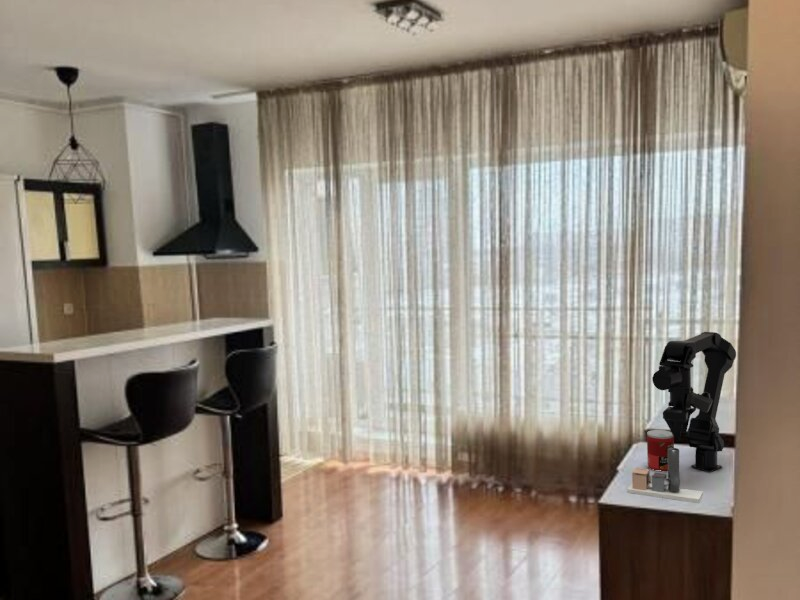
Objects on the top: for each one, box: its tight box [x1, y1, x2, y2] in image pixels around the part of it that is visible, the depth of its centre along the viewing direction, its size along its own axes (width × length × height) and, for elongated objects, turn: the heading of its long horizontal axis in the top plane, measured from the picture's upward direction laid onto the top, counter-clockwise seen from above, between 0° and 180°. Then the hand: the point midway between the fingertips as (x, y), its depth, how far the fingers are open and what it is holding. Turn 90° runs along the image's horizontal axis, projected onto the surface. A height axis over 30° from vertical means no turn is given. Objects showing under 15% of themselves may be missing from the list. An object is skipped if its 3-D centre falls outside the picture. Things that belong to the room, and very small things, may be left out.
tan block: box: [631, 467, 651, 490], centre depth 200 cm, size 4×4×5 cm
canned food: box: [646, 429, 675, 472], centre depth 218 cm, size 8×8×11 cm
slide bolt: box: [646, 447, 681, 492], centre depth 197 cm, size 11×3×12 cm, turn 58°
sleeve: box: [651, 472, 668, 492], centre depth 198 cm, size 3×3×4 cm
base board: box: [626, 483, 704, 504], centre depth 197 cm, size 19×6×1 cm, turn 58°
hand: (681, 437), depth 206 cm, fingers open, 9 cm apart
